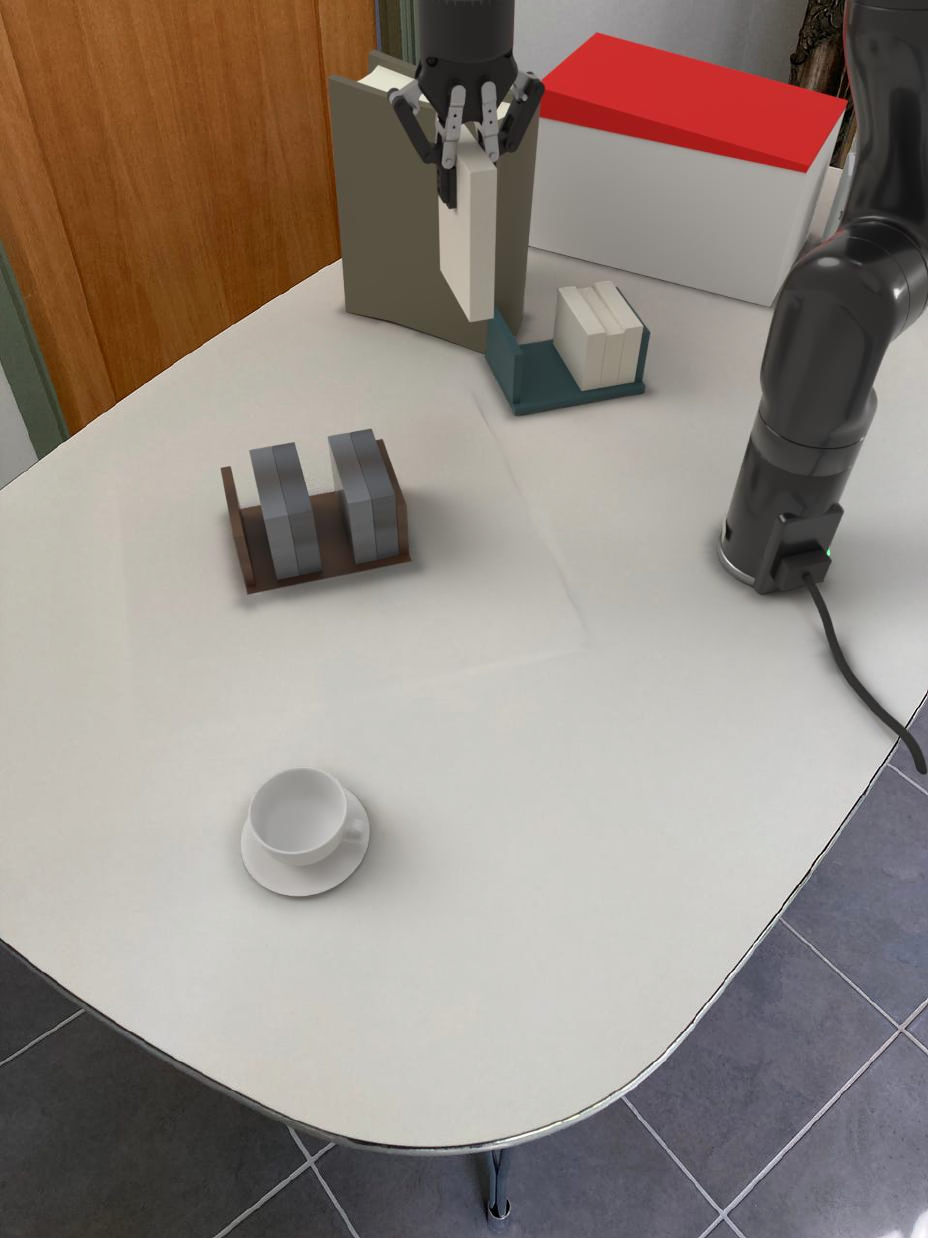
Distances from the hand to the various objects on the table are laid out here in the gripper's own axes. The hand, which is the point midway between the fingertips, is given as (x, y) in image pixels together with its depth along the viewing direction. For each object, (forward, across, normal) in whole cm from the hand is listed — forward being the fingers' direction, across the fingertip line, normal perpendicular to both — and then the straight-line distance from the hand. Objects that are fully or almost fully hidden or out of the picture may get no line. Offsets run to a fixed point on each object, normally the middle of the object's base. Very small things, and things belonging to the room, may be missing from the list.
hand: (466, 201), depth 86 cm
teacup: (+27, -26, -43) cm, 57 cm away
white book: (+9, 0, 0) cm, 9 cm away
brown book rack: (+27, -19, -11) cm, 35 cm away
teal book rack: (+27, +14, +8) cm, 32 cm away
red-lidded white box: (+27, +40, +34) cm, 59 cm away
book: (+27, +4, +24) cm, 37 cm away
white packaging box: (+27, +62, +22) cm, 71 cm away
